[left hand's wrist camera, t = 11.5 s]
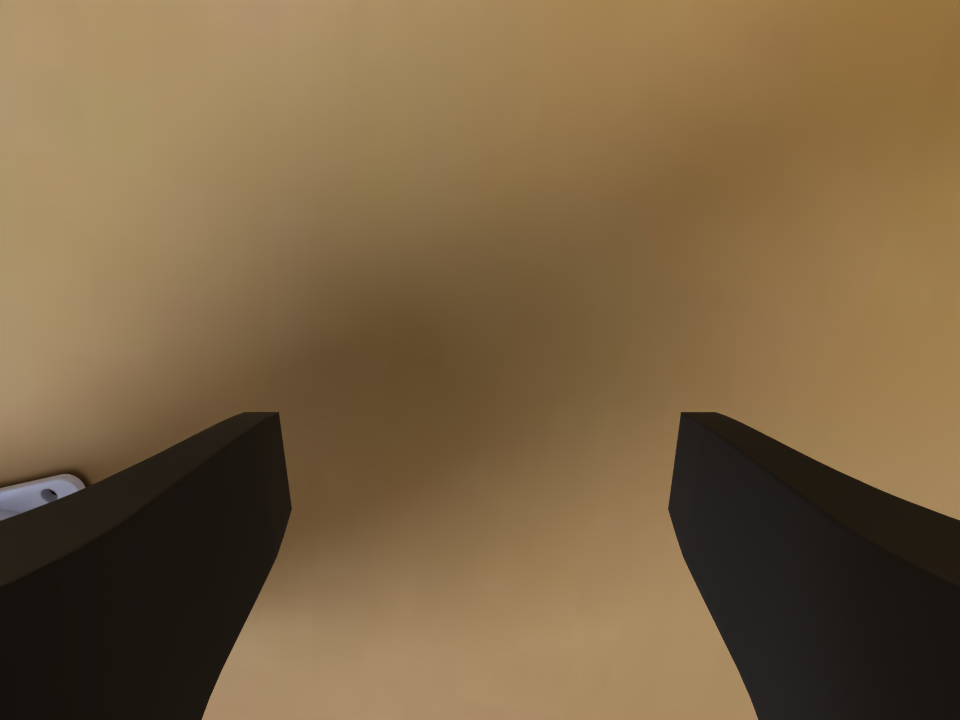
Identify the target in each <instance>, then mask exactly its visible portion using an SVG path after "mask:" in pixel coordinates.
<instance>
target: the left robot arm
mask: <svg viewBox="0 0 960 720" xmlns="http://www.w3.org/2000/svg"><path fill="white" fill-rule="evenodd" d="M49 489H50V490H52V491H54V492H55V493H56V494H57V496H56V495H54V494H52V493H51V492H50V490H49ZM291 510H292V507H291V500H290V492H289V485H288V477H287V470H286V462H285V455H284V447H283V440H282V432H281V425H280V417H279V412H244V413H241V414H238V415H235V416H233V417H231V418H228V419H226V420H224V421H222V422H220V423H218V424H215V425H213V426H211V427H209V428H207V429H205V430H203V431H201V432H200V433H198V434H196V435H194V436H192V437H190V438H188V439H186V440H184V441H182V442H180V443H178V444H176V445H174V446H172V447H170V448H168V449H166V450H164V451H162V452H160V453H158V454H156V455H154V456H152V457H150V458H148V459H146V460H144V461H142V462H140V463H138V464H136V465H134V466H131V467H129V468H127V469H125V470H123V471H121V472H119V473H117V474H114V475H112V476H110V477H108V478H106V479H104V480H102V481H100V482H97V483H95V484H93V485H91V486H88V487H86V488H85V486H84V484H83V483H82V481H81V480H80V479H79V478H77V477H76V476H73V475H70V474H61V475H57V476H52V477H48V478H43V479H39V480H34V481H30V482H25V483H21V484H16V485H12V486H7V487H3V488H0V720H202V717H203V714H204V711H205V709H206V706H207V703H208V701H209V698H210V696H211V693H212V691H213V689H214V686H215V684H216V682H217V680H218V677H219V675H220V673H221V671H222V668H223V666H224V664H225V662H226V660H227V658H228V656H229V654H230V652H231V650H232V648H233V646H234V644H235V642H236V640H237V638H238V636H239V634H240V632H241V630H242V628H243V626H244V624H245V622H246V620H247V618H248V615H249V613H250V611H251V609H252V607H253V605H254V603H255V601H256V599H257V597H258V595H259V593H260V591H261V589H262V587H263V585H264V583H265V581H266V578H267V576H268V574H269V572H270V570H271V568H272V566H273V564H274V562H275V559H276V557H277V554H278V551H279V548H280V545H281V542H282V539H283V537H284V533H285V530H286V527H287V523H288V520H289V517H290V513H291ZM668 510H669V513H670V517H671V520H672V523H673V527H674V530H675V533H676V537H677V539H678V542H679V545H680V548H681V551H682V554H683V557H684V559H685V562H686V564H687V566H688V568H689V570H690V572H691V574H692V576H693V578H694V581H695V583H696V585H697V587H698V589H699V591H700V593H701V595H702V597H703V599H704V601H705V603H706V605H707V607H708V609H709V611H710V613H711V615H712V618H713V620H714V622H715V624H716V626H717V628H718V630H719V632H720V634H721V636H722V638H723V640H724V642H725V644H726V646H727V648H728V650H729V652H730V654H731V656H732V658H733V660H734V662H735V664H736V666H737V668H738V671H739V673H740V675H741V677H742V680H743V682H744V684H745V686H746V689H747V691H748V693H749V696H750V698H751V701H752V703H753V706H754V709H755V711H756V714H757V717H758V720H960V520H957V519H954V518H951V517H948V516H946V515H943V514H940V513H938V512H935V511H932V510H930V509H927V508H925V507H922V506H919V505H917V504H914V503H911V502H909V501H906V500H903V499H901V498H898V497H896V496H893V495H891V494H889V493H886V492H884V491H881V490H879V489H877V488H874V487H872V486H870V485H868V484H865V483H863V482H861V481H859V480H857V479H854V478H852V477H850V476H848V475H846V474H843V473H841V472H839V471H837V470H835V469H833V468H831V467H828V466H826V465H824V464H822V463H820V462H818V461H816V460H814V459H812V458H810V457H808V456H806V455H804V454H802V453H800V452H798V451H796V450H794V449H792V448H790V447H788V446H786V445H784V444H782V443H780V442H778V441H776V440H775V439H773V438H771V437H769V436H767V435H765V434H763V433H761V432H759V431H757V430H755V429H753V428H751V427H749V426H747V425H745V424H743V423H741V422H739V421H736V420H734V419H732V418H730V417H727V416H725V415H722V414H719V413H716V412H681V417H680V425H679V432H678V440H677V447H676V455H675V462H674V470H673V477H672V485H671V492H670V500H669V507H668Z"/></svg>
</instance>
